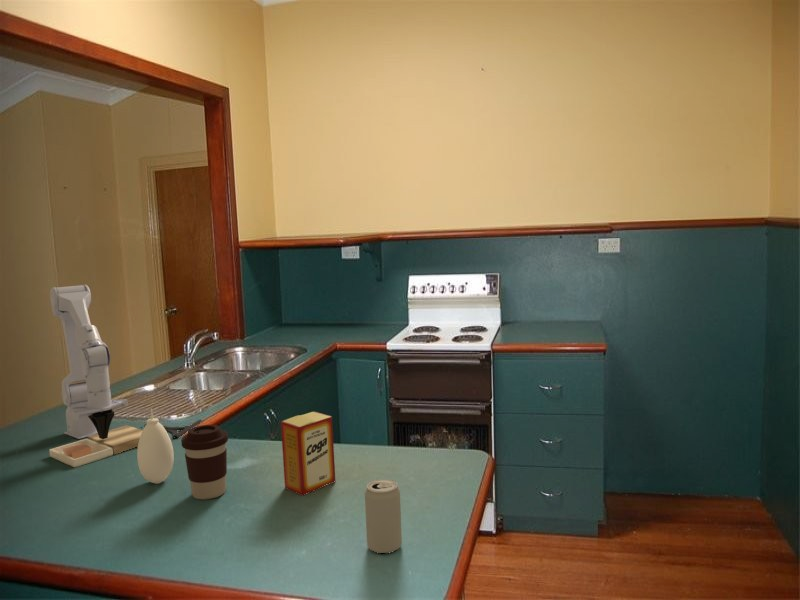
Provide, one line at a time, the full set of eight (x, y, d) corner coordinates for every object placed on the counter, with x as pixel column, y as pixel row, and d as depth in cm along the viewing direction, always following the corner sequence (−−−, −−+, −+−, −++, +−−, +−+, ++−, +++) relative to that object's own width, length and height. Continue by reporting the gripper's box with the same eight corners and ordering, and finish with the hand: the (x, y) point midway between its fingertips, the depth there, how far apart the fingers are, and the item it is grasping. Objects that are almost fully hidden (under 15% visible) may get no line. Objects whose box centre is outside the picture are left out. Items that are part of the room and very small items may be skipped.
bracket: (158, 423, 198) (158, 415, 198) (202, 424, 195) (202, 416, 195) (131, 439, 184) (130, 430, 184) (178, 441, 181) (177, 431, 181)
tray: (50, 456, 170) (49, 449, 170) (88, 445, 178) (87, 438, 178) (74, 467, 162) (73, 460, 162) (113, 455, 170) (112, 448, 170)
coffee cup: (240, 486, 146) (235, 423, 144) (214, 505, 137) (209, 438, 135) (204, 482, 149) (199, 420, 148) (176, 500, 140) (170, 434, 138)
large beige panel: (89, 445, 179) (88, 436, 178) (127, 433, 188) (127, 425, 187) (114, 454, 170) (113, 445, 170) (153, 442, 179) (153, 433, 179)
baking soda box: (317, 474, 151) (313, 409, 149) (335, 481, 147) (331, 414, 145) (285, 488, 145) (280, 420, 143) (302, 495, 140) (298, 425, 138)
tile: (82, 443, 173) (82, 451, 173) (63, 448, 169) (63, 456, 169) (91, 446, 169) (91, 454, 170) (71, 452, 166) (72, 460, 166)
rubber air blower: (163, 489, 146) (156, 413, 144) (133, 488, 148) (126, 413, 145) (181, 476, 154) (175, 403, 151) (152, 474, 155) (146, 403, 153)
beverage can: (366, 540, 120) (363, 479, 118) (400, 537, 120) (398, 476, 119) (367, 557, 113) (364, 493, 112) (403, 554, 114) (401, 490, 112)
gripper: (78, 398, 165) (84, 448, 167) (131, 385, 176) (136, 432, 178) (66, 394, 169) (71, 443, 171) (118, 382, 180) (122, 428, 182)
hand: (103, 437), depth 175 cm, fingers closed
